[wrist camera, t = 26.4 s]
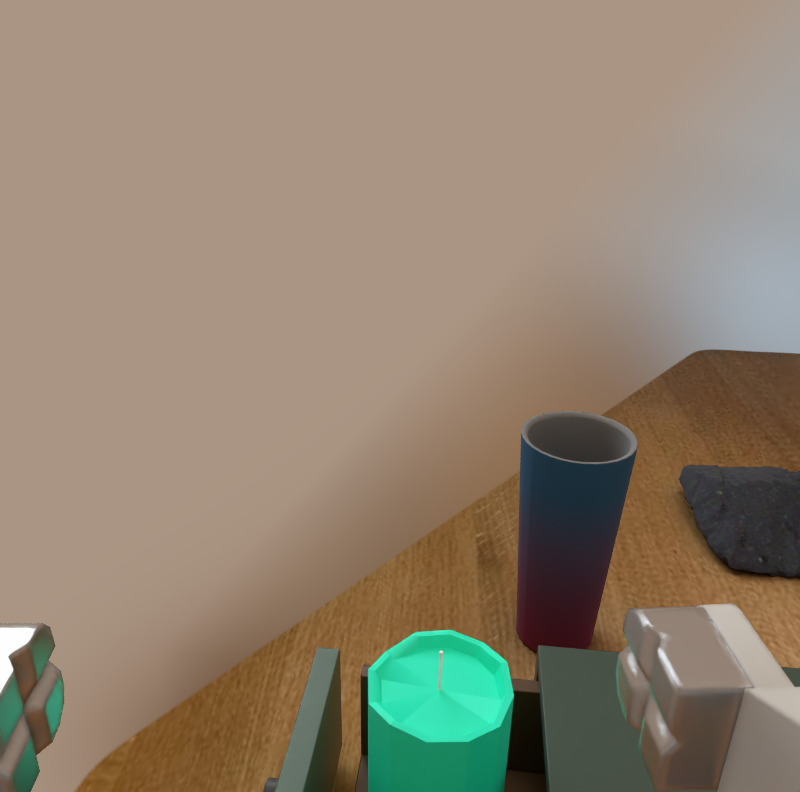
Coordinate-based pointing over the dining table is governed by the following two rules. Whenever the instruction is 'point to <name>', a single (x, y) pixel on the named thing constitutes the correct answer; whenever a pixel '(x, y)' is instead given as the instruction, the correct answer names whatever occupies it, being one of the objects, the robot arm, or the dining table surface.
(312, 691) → the drawer
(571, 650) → the cabinet
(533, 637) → the cup
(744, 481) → the dark slate chunk
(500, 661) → the candle
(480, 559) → the dining table surface
